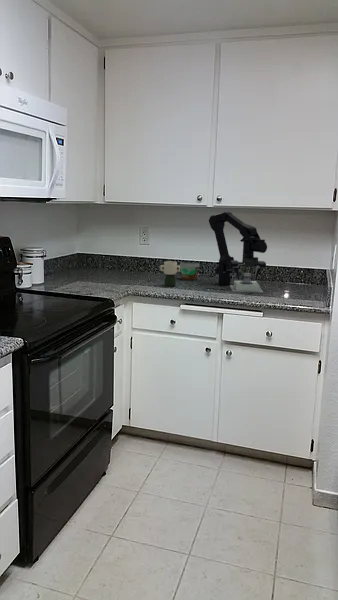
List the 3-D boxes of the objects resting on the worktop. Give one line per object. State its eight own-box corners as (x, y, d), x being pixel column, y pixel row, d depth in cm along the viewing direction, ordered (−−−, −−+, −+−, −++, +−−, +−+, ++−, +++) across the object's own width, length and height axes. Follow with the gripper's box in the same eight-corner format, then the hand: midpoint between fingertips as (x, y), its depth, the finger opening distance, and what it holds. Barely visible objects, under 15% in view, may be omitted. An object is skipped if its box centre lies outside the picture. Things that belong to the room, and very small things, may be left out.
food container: (175, 279, 288) (176, 262, 286) (180, 277, 294) (180, 261, 291) (195, 281, 283) (195, 264, 281) (199, 279, 289) (199, 262, 286)
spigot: (242, 289, 261) (243, 274, 259) (241, 287, 266) (242, 272, 264) (250, 289, 261) (251, 274, 259) (249, 287, 265) (250, 273, 264)
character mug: (180, 284, 272) (180, 261, 269) (179, 287, 265) (180, 263, 262) (160, 284, 273) (161, 260, 270) (159, 286, 266) (159, 262, 263)
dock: (232, 292, 256) (233, 285, 255) (229, 286, 271) (230, 279, 271) (263, 292, 256) (263, 286, 255) (258, 286, 271) (259, 280, 270)
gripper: (232, 252, 251) (230, 282, 255) (268, 253, 251) (266, 283, 254) (230, 249, 262) (228, 278, 265) (265, 250, 262) (263, 279, 265)
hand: (246, 280), depth 262 cm, fingers open, 9 cm apart
